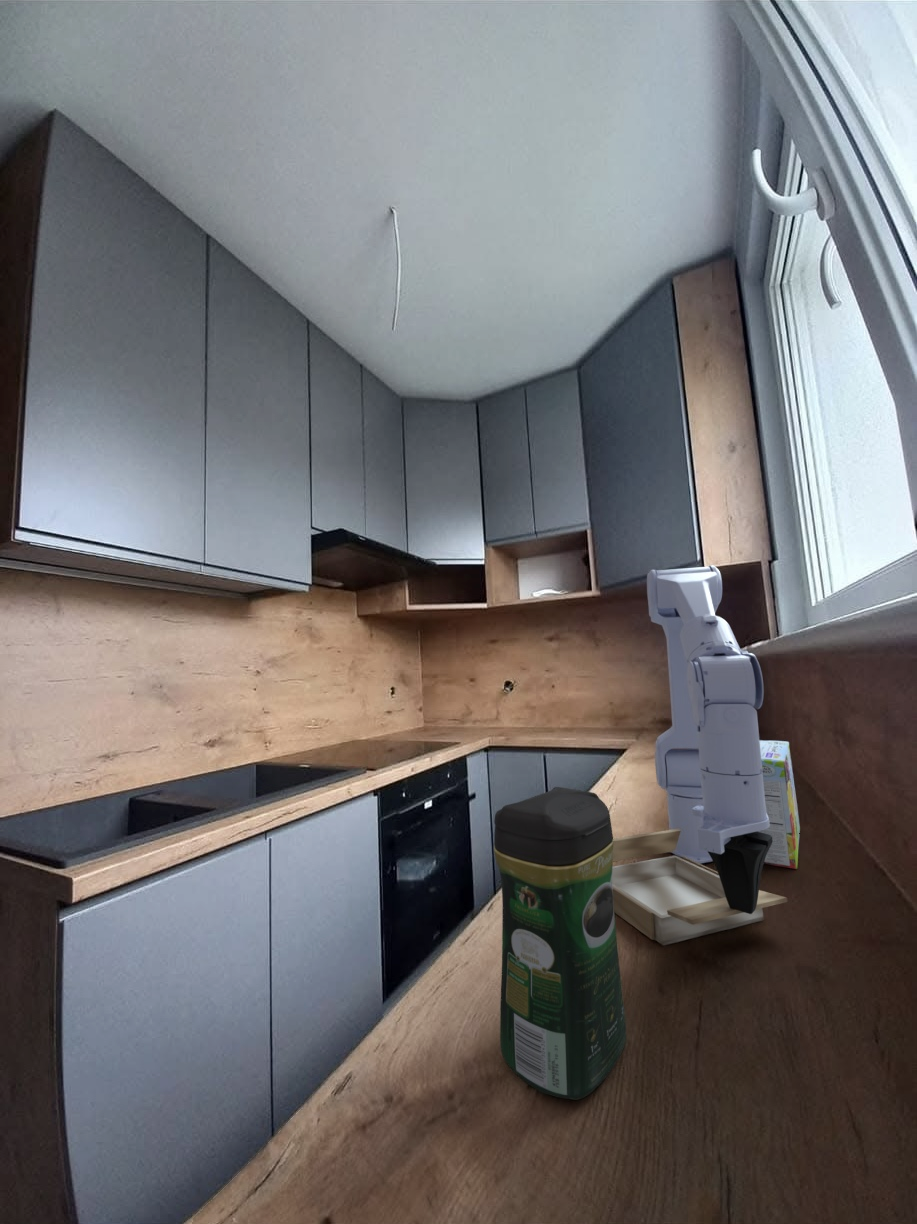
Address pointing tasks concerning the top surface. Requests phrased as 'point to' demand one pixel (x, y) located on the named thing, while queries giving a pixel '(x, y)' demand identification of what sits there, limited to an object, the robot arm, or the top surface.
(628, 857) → the flap
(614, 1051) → the coffee jar
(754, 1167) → the top surface
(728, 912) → the flap
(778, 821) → the snack box
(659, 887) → the carton
